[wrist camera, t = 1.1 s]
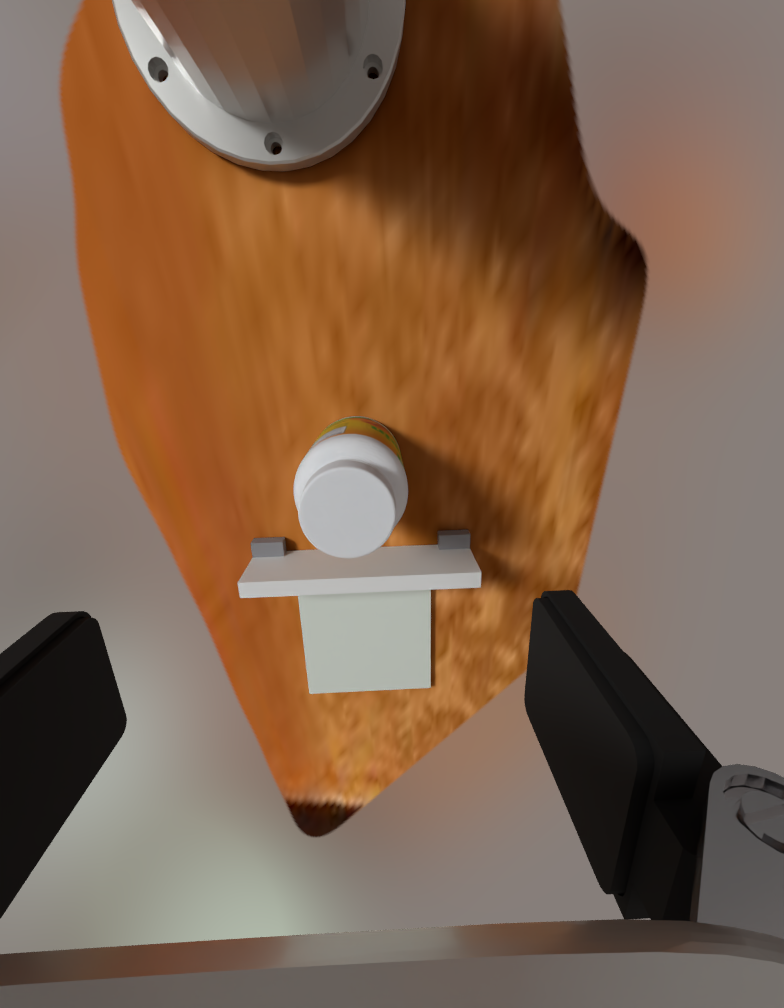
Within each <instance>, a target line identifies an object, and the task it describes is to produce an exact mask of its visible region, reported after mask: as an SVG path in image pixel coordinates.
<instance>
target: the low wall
mask: <svg viewBox="0 0 784 1008" xmlns="http://www.w3.org/2000/svg"><path fill="white" fill-rule="evenodd" d="M251 549H252V556H253V558H252V560H251V561H250V563H249V565H248V566H247V568H246V570H245V571H244V573H243V575H242V576H241V578H240V580H239V581H238V588H239V594H240V598H254V597H276V596H299V595H321V594H344V593H366V592H389V591H412V590H434V589H457V588H479V587H481V570H480V568H479V566H478V564H477V562H476V560H475V558H474V556H473V554H472V552H471V550H470V533H469V531H468V530H444V531H438V545H417V546H393V547H379V548H378V549H377V550H375V551H374V552H372V553H370V554H368V555H365V556H362V557H358V558H338V557H334V556H331V555H328V554H326V553H324V552H322V551H320V550H297V551H287V550H286V542H285V537H273V538H254V539H253V541H252V542H251Z"/></svg>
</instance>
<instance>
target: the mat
mask: <svg viewBox="0 0 784 1008" xmlns="http://www.w3.org/2000/svg"><path fill="white" fill-rule="evenodd" d="M298 600H299V608H300V617H301V626H302V634H303V643H304V651H305V660H306V668H307V677H308V686H309V694H314V693H334V692H354V691H374V690H394V689H414V688H431V590H412V591H389V592H366V593H344V594H321V595H299V596H298Z"/></svg>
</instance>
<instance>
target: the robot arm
mask: <svg viewBox="0 0 784 1008" xmlns="http://www.w3.org/2000/svg"><path fill="white" fill-rule="evenodd" d="M112 2H113V6H114V10H115V14H116V18H117V22H118V26H119V28H120V30H121V33H122V35H123V38H124V40H125V43H126V45H127V47H128V50H129V52H130V55H131V57H132V60H133V61H134V63H135V65H136V66H137V68H138V70H139V71H140V73H141V75H142V77H143V78H144V80H145V82H146V83H147V85H148V87H149V88H150V90H151V91H152V93H153V94H154V95H155V96H156V98H157V99H158V100H159V101H160V103H161V104H162V105H163V106H164V108H165V109H166V110H167V112H168V113H169V114H170V115H171V116H172V117H173V118H174V119H175V120H176V121H177V122H178V123H179V124H180V125H181V126H182V128H183V129H184V130H185V131H186V132H187V133H188V134H189V135H190V136H192V137H193V138H194V139H196V140H197V141H198V142H200V143H201V144H202V145H204V146H205V147H206V148H208V149H209V150H210V151H212V152H213V153H215V154H217V155H219V156H221V157H223V158H225V159H227V160H229V161H231V162H233V163H235V164H238V165H242V166H246V167H250V168H254V169H257V170H261V171H291V170H296V169H301V168H306V167H310V166H313V165H315V164H317V163H319V162H321V161H324V160H326V159H328V158H330V157H332V156H334V155H335V154H336V153H338V152H339V151H340V150H342V149H343V148H344V147H346V146H347V145H348V144H350V143H351V142H352V141H353V140H354V139H355V138H356V137H357V136H358V135H359V133H360V132H361V131H362V130H363V129H364V128H365V127H366V126H367V124H368V123H369V122H370V121H371V119H372V118H373V116H374V114H375V112H376V111H377V109H378V107H379V106H380V104H381V102H382V101H383V99H384V97H385V95H386V92H387V90H388V87H389V85H390V82H391V79H392V77H393V74H394V71H395V69H396V65H397V60H398V56H399V51H400V46H401V41H402V36H403V25H404V15H405V5H406V0H112ZM371 73H376V74H377V76H378V78H376V79H371V78H368V76H369V74H371ZM165 76H168V77H167V79H166V80H165V81H163V78H164V77H165ZM276 146H279V147H281V148H282V151H281V152H280V154H277V155H274V154H273V149H274V148H275V147H276ZM525 707H526V712H527V715H528V717H529V720H530V722H531V724H532V727H533V729H534V732H535V734H536V736H537V738H538V741H539V743H540V746H541V748H542V750H543V753H544V755H545V757H546V760H547V762H548V765H549V766H550V769H551V772H552V774H553V776H554V779H555V781H556V784H557V786H558V788H559V790H560V793H561V795H562V798H563V800H564V803H565V805H566V807H567V809H568V812H569V814H570V817H571V819H572V822H573V824H574V826H575V829H576V831H577V833H578V836H579V838H580V840H581V843H582V845H583V848H584V850H585V852H586V854H587V857H588V859H589V862H590V864H591V866H592V869H593V871H594V874H595V876H596V878H597V880H598V882H599V885H600V887H601V888H602V890H603V891H604V892H605V893H606V894H613V895H614V897H615V899H616V902H617V904H618V906H619V908H620V911H621V913H622V915H623V917H624V919H617V920H590V921H560V922H534V923H505V924H504V923H503V924H485V925H468V926H449V927H432V928H415V929H398V930H382V931H381V930H380V931H361V932H344V933H325V934H308V935H292V936H277V937H260V938H244V939H227V940H212V941H196V942H181V943H164V944H148V945H135V946H134V945H132V946H117V947H101V948H85V949H70V950H58V951H57V950H56V951H42V952H27V953H13V954H0V1008H784V778H783V777H781V776H779V775H777V774H775V773H773V772H770V771H767V770H764V769H761V768H757V767H755V766H747V765H740V764H735V765H728V766H723V767H722V765H721V764H720V763H719V762H718V761H717V759H716V758H715V757H714V756H713V755H712V754H711V752H710V751H709V750H708V749H707V748H706V747H705V745H704V744H703V743H702V742H701V741H700V739H699V738H698V737H697V736H696V735H695V734H694V732H693V731H692V730H691V729H690V728H689V726H688V725H687V724H686V723H685V722H684V720H683V719H682V718H681V717H680V716H679V714H678V713H677V712H676V711H675V710H674V708H673V707H672V706H671V705H670V704H669V703H668V702H667V700H666V699H665V698H664V697H663V695H662V694H661V693H660V692H659V691H658V690H657V688H656V687H655V686H654V685H653V684H652V682H651V681H650V680H649V679H648V678H647V677H646V675H645V674H644V673H643V672H642V671H641V669H640V668H639V667H638V666H637V665H636V663H635V662H634V661H633V660H632V659H631V658H630V657H629V656H628V655H627V654H626V653H625V652H623V651H622V649H620V647H619V646H618V645H617V643H616V642H615V641H614V640H613V639H612V638H611V636H610V635H609V634H608V633H607V631H606V630H605V629H604V628H603V627H602V625H600V623H599V622H598V621H597V620H596V618H595V617H594V616H593V615H592V614H591V612H590V611H589V610H588V609H587V608H586V606H585V605H584V604H583V603H582V602H581V600H580V599H579V598H578V597H577V596H576V594H575V593H574V592H573V591H571V590H562V591H544V592H543V593H542V596H541V598H536V599H535V600H534V602H533V611H532V621H531V632H530V643H529V653H528V664H527V676H526V685H525ZM126 721H127V718H126V713H125V710H124V707H123V703H122V700H121V697H120V693H119V690H118V686H117V683H116V680H115V676H114V673H113V670H112V666H111V663H110V660H109V656H108V653H107V650H106V646H105V643H104V639H103V636H102V633H101V630H100V626H99V623H98V621H97V620H96V619H94V618H91V616H90V615H89V614H88V613H87V612H84V611H78V612H57V613H52V614H50V615H49V616H47V617H46V618H45V619H44V620H42V621H41V622H40V623H38V624H37V625H36V626H35V627H33V628H32V629H31V630H30V631H28V632H27V633H26V634H25V635H23V636H22V637H21V638H20V639H18V640H17V641H16V642H15V643H13V644H12V645H11V646H10V647H8V648H7V649H6V650H5V651H3V652H2V653H1V654H0V918H1V917H2V916H3V914H4V913H5V911H6V909H7V908H8V907H9V905H10V904H11V902H12V901H13V899H14V898H15V896H16V894H17V893H18V892H19V890H20V889H21V887H22V885H23V884H24V883H25V881H26V880H27V878H28V877H29V875H30V873H31V872H32V870H33V869H34V867H35V866H36V865H37V863H38V861H39V860H40V858H41V857H42V855H43V854H44V852H45V851H46V849H47V848H48V846H49V845H50V843H51V842H52V840H53V839H54V837H55V836H56V834H57V833H58V831H59V830H60V828H61V827H62V825H63V824H64V822H65V821H66V819H67V818H68V816H69V815H70V813H71V812H72V810H73V809H74V807H75V806H76V804H77V803H78V801H79V800H80V798H81V797H82V795H83V794H84V792H85V791H86V789H87V788H88V786H89V785H90V783H91V782H92V780H93V779H94V777H95V776H96V774H97V773H98V771H99V770H100V768H101V767H102V765H103V764H104V762H105V761H106V759H107V758H108V756H109V755H110V753H111V752H112V750H113V749H114V747H115V746H116V744H117V743H118V741H119V740H120V738H121V737H122V735H123V733H124V731H125V727H126ZM641 918H642V919H643V918H650V919H651V920H630V919H641Z"/></svg>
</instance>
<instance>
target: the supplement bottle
mask: <svg viewBox="0 0 784 1008" xmlns="http://www.w3.org/2000/svg"><path fill="white" fill-rule="evenodd" d="M294 499H295V504H296V507H297V509H298V516H299V522H300V525H301V528H302V530H303V532H304V534H305V536H306V537H307V539H308V540H309V541H310V542H311V543H312V544H313V545H314V546H315V547H316V548H317V549H319V550H320V551H322V552H324V553H326V554H328V555H331V556H334V557H338V558H358V557H362V556H365V555H368V554H370V553H372V552H374V551H375V550H377V549H378V548H379V547H381V546H382V545H383V544H384V543H385V542H386V540H387V539H388V538H389V536H390V534H391V533H392V531H393V528H394V527H395V526H396V524H397V523H398V522H399V520H400V519H401V517H402V515H403V513H404V511H405V508H406V504H407V499H408V483H407V477H406V473H405V469H404V465H403V461H402V457H401V452H400V448H399V446H398V443H397V441H396V439H395V438H394V436H393V435H392V433H391V432H390V431H389V430H388V429H387V428H386V427H385V426H384V425H382V424H381V423H379V422H377V421H375V420H373V419H370V418H367V417H361V416H352V417H347V418H343V419H340V420H338V421H336V422H334V423H332V424H331V425H329V426H328V427H327V428H326V429H325V430H324V431H323V432H322V433H321V434H320V435H319V437H318V438H317V440H316V441H315V442H314V444H313V445H312V447H311V448H310V450H309V451H308V453H307V454H306V456H305V457H304V458H303V460H302V462H301V464H300V466H299V468H298V470H297V473H296V476H295V481H294Z"/></svg>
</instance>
